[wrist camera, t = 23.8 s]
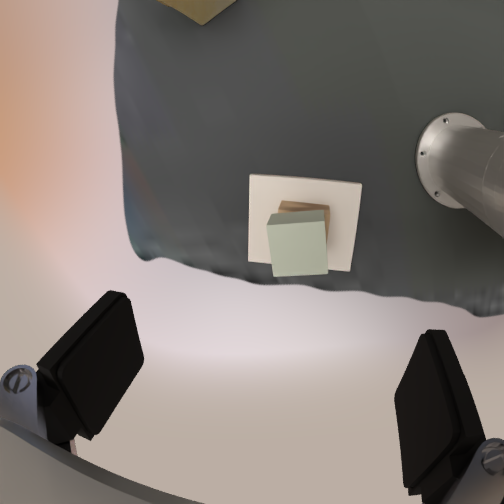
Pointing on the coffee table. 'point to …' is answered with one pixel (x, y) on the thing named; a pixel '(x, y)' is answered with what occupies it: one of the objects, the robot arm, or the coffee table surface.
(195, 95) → the coffee table surface
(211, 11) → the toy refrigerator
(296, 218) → the sage block
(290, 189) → the baseplate
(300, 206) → the oak block
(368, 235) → the coffee table surface
